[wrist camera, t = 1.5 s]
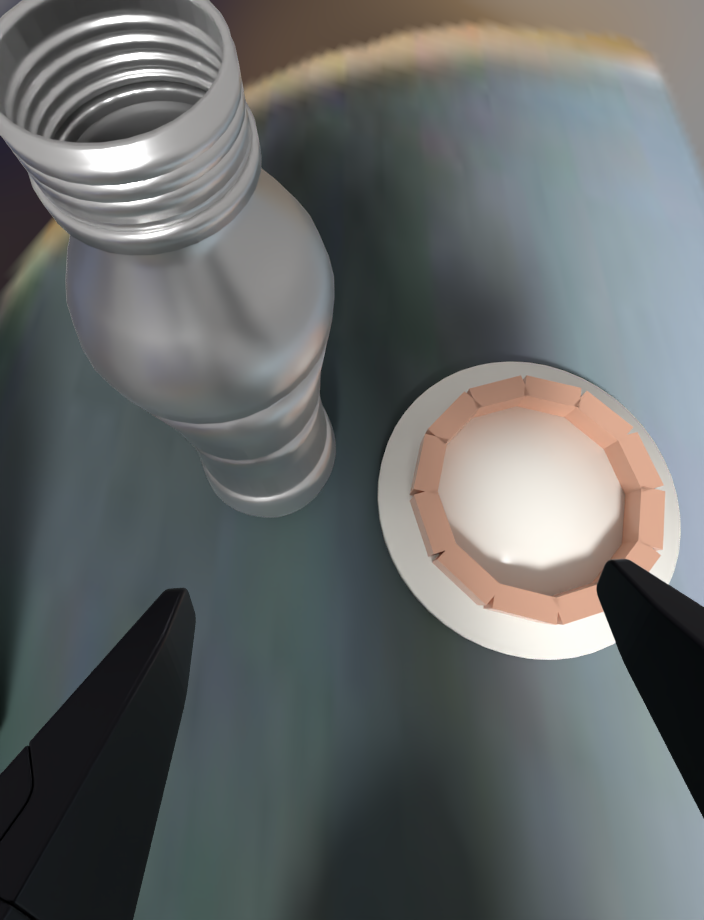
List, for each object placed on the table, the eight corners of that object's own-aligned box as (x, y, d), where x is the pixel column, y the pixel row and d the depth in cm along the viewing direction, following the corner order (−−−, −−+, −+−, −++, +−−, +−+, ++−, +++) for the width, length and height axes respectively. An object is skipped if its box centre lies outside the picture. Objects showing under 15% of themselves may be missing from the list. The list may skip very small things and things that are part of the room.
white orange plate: (554, 733, 22) (577, 747, 20) (315, 502, 25) (313, 492, 23) (724, 496, 26) (759, 487, 24) (499, 320, 29) (512, 297, 27)
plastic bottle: (193, 494, 25) (-263, 133, 6) (255, 390, 27) (59, -131, 8) (300, 546, 24) (172, 331, 5) (356, 437, 26) (409, -10, 7)
